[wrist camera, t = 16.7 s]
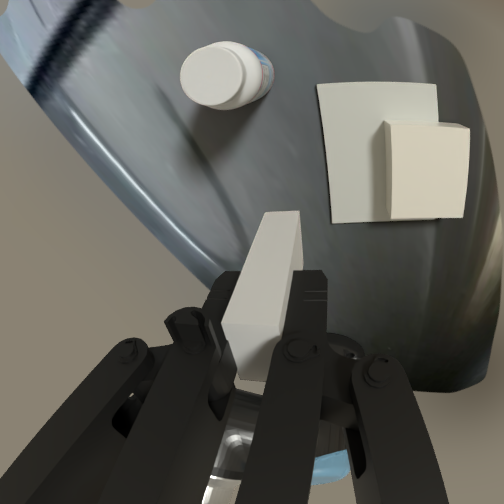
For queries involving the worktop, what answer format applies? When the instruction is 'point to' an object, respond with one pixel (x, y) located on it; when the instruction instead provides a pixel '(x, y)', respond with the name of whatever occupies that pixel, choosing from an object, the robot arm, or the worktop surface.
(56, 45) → the worktop surface
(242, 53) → the pill bottle
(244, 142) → the worktop surface
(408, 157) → the cream rectangular block
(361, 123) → the mat
